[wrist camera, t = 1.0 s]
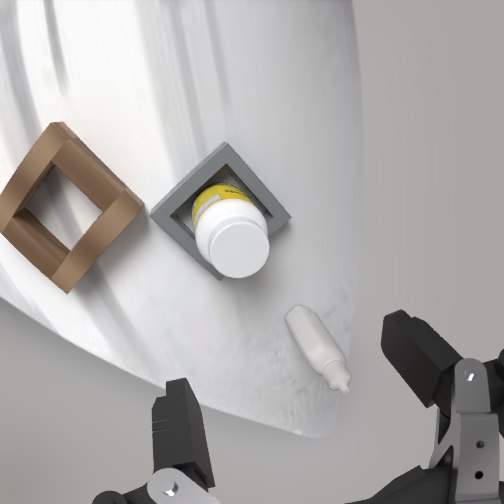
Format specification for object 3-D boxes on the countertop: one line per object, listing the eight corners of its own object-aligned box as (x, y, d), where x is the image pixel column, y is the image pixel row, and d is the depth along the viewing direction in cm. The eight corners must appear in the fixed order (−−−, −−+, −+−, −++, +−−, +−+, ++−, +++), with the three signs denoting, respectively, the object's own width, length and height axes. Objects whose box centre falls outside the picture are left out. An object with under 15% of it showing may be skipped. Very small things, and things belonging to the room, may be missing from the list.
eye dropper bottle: (289, 343, 38) (327, 416, 27) (282, 309, 35) (323, 384, 25) (321, 331, 38) (366, 398, 28) (317, 296, 36) (368, 364, 25)
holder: (224, 141, 27) (227, 143, 25) (284, 211, 31) (291, 217, 29) (151, 209, 28) (149, 216, 26) (216, 271, 32) (219, 280, 30)
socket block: (63, 121, 22) (50, 122, 19) (143, 202, 27) (140, 212, 24) (1, 209, 23) (-13, 218, 21) (75, 279, 28) (67, 294, 26)
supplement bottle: (259, 210, 30) (295, 252, 21) (217, 247, 31) (236, 302, 22) (222, 169, 28) (245, 194, 19) (178, 209, 28) (180, 253, 19)
